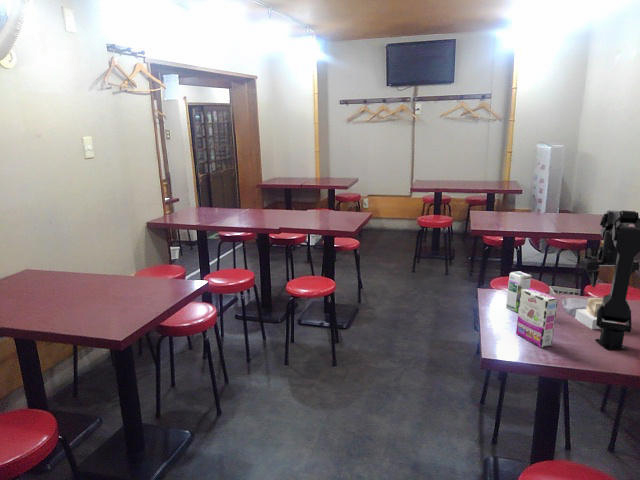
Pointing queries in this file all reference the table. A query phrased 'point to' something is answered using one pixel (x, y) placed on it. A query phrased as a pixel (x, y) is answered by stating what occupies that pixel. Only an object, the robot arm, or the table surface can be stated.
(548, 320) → the candy bar box
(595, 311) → the birch cube
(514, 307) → the syrup box
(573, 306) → the stone block
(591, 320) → the base block
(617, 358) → the table surface
